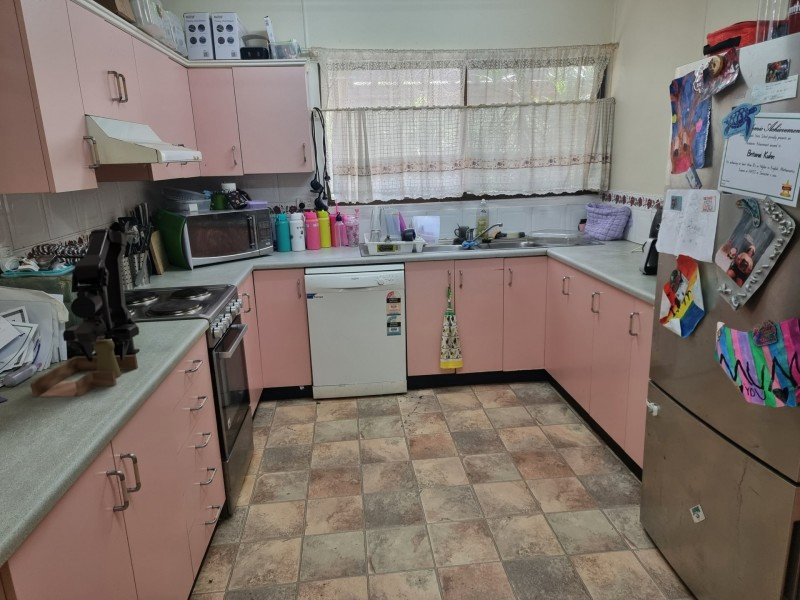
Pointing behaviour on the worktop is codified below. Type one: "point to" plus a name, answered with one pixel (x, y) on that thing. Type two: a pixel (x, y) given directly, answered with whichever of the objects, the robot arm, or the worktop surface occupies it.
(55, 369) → the bent channel
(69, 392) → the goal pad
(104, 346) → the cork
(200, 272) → the worktop surface
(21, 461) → the worktop surface
